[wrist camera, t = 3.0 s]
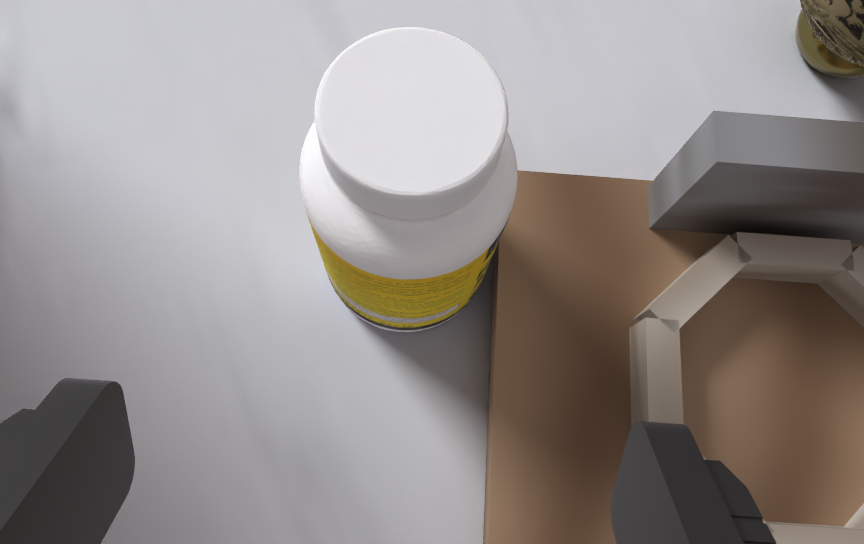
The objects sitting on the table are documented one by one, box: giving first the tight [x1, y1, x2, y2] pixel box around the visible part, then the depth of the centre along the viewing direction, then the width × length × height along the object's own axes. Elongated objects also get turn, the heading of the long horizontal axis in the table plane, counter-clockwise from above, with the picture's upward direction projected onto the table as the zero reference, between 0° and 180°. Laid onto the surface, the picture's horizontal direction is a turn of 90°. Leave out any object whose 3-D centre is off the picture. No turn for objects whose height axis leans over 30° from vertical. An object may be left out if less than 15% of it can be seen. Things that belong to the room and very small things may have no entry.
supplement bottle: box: [299, 27, 517, 332], centre depth 18 cm, size 5×5×10 cm
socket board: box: [483, 111, 864, 544], centre depth 19 cm, size 18×14×6 cm
